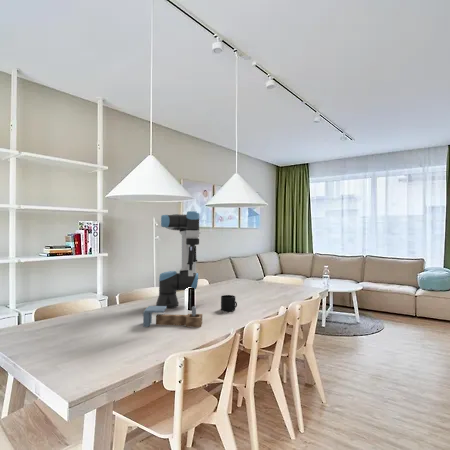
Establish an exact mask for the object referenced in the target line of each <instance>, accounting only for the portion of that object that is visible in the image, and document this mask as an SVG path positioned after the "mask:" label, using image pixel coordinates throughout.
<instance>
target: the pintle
mask: <svg viewBox="0 0 450 450" xmlns="http://www.w3.org/2000/svg"><path fill="white" fill-rule="evenodd" d="M191 314H192V317H196V314H197V306H196V305H192V306H191Z"/></svg>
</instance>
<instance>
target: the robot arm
mask: <svg viewBox="0 0 450 450" xmlns="http://www.w3.org/2000/svg"><path fill="white" fill-rule="evenodd" d="M200 219H201V218H200V212H199V211H197V210H196V211H195V210H193V211H192V210H191V211H190V210H188V211H186V214H178V213H177V214H161V216H160V227H161V228H166V230H167V229H168V230H171V231H179V234H180V235H181V268H180V270H179V273H178V272H177V271H176V270H171V271H170V270H169V271H164V272H161V273H160V274H159V278H158V279H159V280H158V282H159V283H158V285H159V286H158V287H159V288H158V297H157V301H156V303H155V304H156V305H155V306H167V308H166V309H172V308H173V309H174V308H177V307H178V306H179V300H178V296H177V291H186V290H185V289H186V288H188V287H192V288H194V290H193V291H195V290H196V289H197V286H198V283H199V273H198V272H197V262H198V259H197V245H200V234H201V232H200Z"/></svg>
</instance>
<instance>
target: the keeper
mask: <svg viewBox="0 0 450 450" xmlns="http://www.w3.org/2000/svg"><path fill="white" fill-rule="evenodd" d="M167 309H168V308H167V306H156V305H148V307H146V308H145V309H144V311H143V313H142V314H143V315H142V316H143V323H142V325H143V327H147V328H149V327H150V326H151V324H152V321H153V319H152V318H153V314H154V313H157V314H163V313H164V312H165V311H166V310H167Z"/></svg>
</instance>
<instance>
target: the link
mask: <svg viewBox="0 0 450 450" xmlns="http://www.w3.org/2000/svg"><path fill="white" fill-rule="evenodd" d="M155 325H156V326H185V327H186V328H188V327H189V328H201V327H202V325H203V313H196V317H192V313H187V314H169V313H167V314H163V313H157V314H156V315H155Z"/></svg>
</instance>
